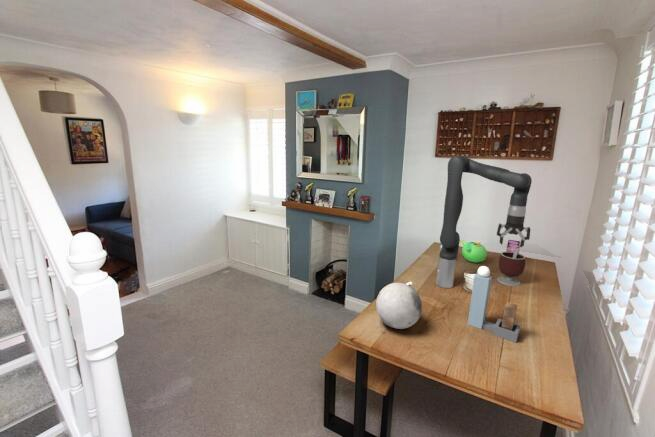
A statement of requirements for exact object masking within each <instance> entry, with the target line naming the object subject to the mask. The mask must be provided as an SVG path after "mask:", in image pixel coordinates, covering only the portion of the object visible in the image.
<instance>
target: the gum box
mask: <svg viewBox="0 0 655 437" xmlns="http://www.w3.org/2000/svg"><path fill="white" fill-rule="evenodd" d="M520 243H521V240H513V239H508V241H507V244H506V245H507V246H506V249H505V252H513V253H514V252H515V251H516V250H517V249H518V248H519V251H518V254H520V248H521V247H520Z"/></svg>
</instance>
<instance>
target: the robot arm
mask: <svg viewBox="0 0 655 437" xmlns="http://www.w3.org/2000/svg"><path fill="white" fill-rule="evenodd" d="M464 173H467V174H468V173H469V174H473V175H477V176H480V177H482V178H484V179H487V180H489V181H492V182H493V181H494V182H496V183H500V184H504V185H507V186H509V187H512V188H513V192H512V194H511V195H510V201H509V207H508V209H507V215H506V222H505V224H502V223H501V222H500V223H498V226H497V229H496V230H497V231H496V235H497V236H499V244H500V245H503V244H504V243H503V242H504V237H505V236H506V235H507V234H510V235H515V236H517V235H519V237H520V238H521V239H520V248H522V247H524V245H525V241H529V240H530V238H531V227H530V226H524V224H525V219H526V214H527V213H526V212H527V204H528V195H529V193H530V189H531V186H532V183H533V182H532V177H531V176H530V175H529V174H528V173H525V172H524V173H518V172H515V171H510V170H509V169H506V168H503V167H498V166H494V165H490V164H486V163H485V164H484V163H482V162H478V161H476V160H473V159H471V158H468V157H466V155H465V156H464V155H454V156H452V157H450V158H449V160H448V162H447V181H446V191H445V199H444V205H443V207H444V209H443V222H442V228H441V232H440V236H439V242H440V246H441V245H442V249H441V251H440V250H439V257H438V263H437V264H438V265H437V266H438V267H437V269H436V279H435V286H438V287H440V288H442V289H443V288H444V289H451V288H453V287H454V278H455V272H456V271H455V270H456V262H457V255H458V253H459V247H460V243H461V242H460V240H461V238H460V233H458V232H457V225H458V221H459V219H460V215H461V214H462V210H463V204H464V202H463V201H464V193H463V187H462V179H463V174H464ZM502 229H505V230H504V231H503V232H502V233H501V230H502ZM523 231H525V232H526V236H524V235H523V233H522V232H523ZM497 236H496V237H497Z"/></svg>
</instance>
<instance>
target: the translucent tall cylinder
mask: <svg viewBox="0 0 655 437" xmlns="http://www.w3.org/2000/svg"><path fill="white" fill-rule="evenodd" d="M517 308H518V305H517V304H515V303H511V302H507V301H506V303H505V306H504V310H503V316H502V320H503V321H502V327H501V328H504V329H507V330H510V331H513V326H514V323H515V320H516V319H515V318H516V315H517V314H516V313H517Z"/></svg>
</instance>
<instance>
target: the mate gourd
mask: <svg viewBox="0 0 655 437" xmlns="http://www.w3.org/2000/svg"><path fill="white" fill-rule="evenodd" d="M518 251H519V252H520V249H519V248H518V249H517V250H516V251H515V252H514V253H513V252H506V251H503V252H501V253H500V255H499V259H498V270H499V271H500V273H501V274H503V275H505V276H499V277H497V281H498V282H499V283H500V284H503V285H505V286H510V287H518V286H521V282H520V280H518V279H516V277H519V276H521V275H522V274H523V273H524V271H525V267H526V256H525V255H524V254H521V253H519V254H518ZM514 277H515V278H514Z"/></svg>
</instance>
